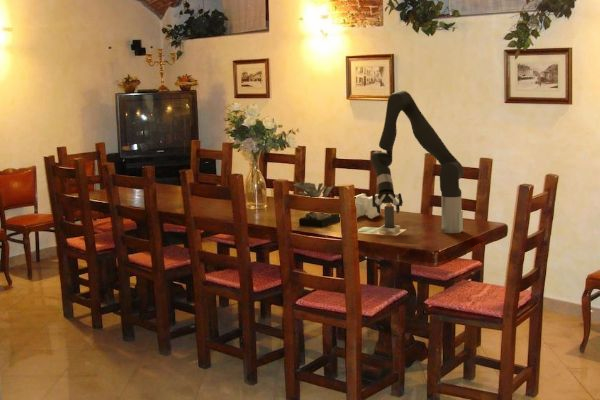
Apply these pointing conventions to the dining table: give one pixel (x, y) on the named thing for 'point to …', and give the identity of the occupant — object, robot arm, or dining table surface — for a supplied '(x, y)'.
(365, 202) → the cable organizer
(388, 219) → the dark grey cylinder
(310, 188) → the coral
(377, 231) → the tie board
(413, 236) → the dining table surface
